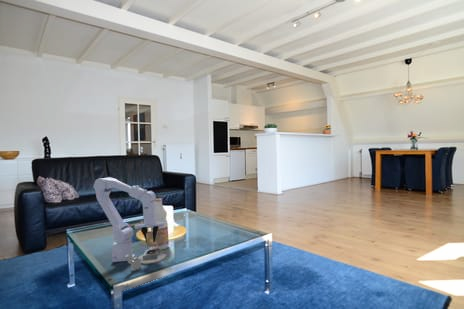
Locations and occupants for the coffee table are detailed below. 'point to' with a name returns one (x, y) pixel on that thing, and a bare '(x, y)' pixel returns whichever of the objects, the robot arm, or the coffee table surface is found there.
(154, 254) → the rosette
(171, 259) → the coffee table surface
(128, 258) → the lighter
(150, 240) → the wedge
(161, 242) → the fruit juice
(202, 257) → the coffee table surface
